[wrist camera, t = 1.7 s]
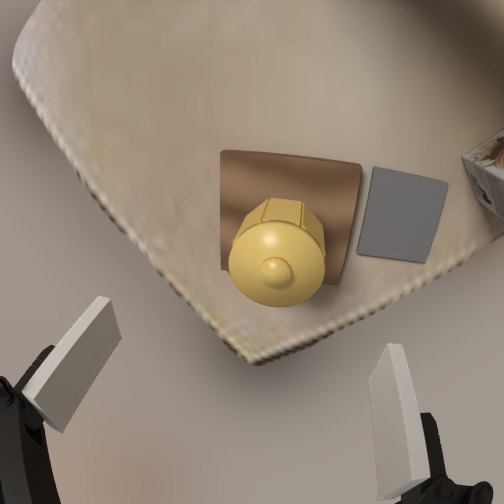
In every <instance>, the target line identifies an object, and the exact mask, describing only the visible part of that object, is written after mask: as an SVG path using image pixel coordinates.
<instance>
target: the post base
mask: <svg viewBox="0 0 504 504" xmlns="http://www.w3.org/2000/svg"><path fill="white" fill-rule="evenodd" d="M361 170H362V167H361V165H360V164H356V163H350V162H344V161H337V160H330V159H323V158H315V157H307V156H298V155H289V154H279V153H268V152H255V151H240V150H223V151H222V152H220V246H221V270H225V271H229V264H228V263H229V256H230V252H231V250H232V247H233V241H234V239H235V237H236V235H237V233H238V231H239V229H240V227H241V225H242V223H243V221H244V219H245V217H246V216H247V215H248V214H249V213H250V212H252V211H253V210H254V209H256V208H257V207H258V206H259V205H261V204H262V203H263V202H264V201H266V200H267V199H269V200H270V199H271V198H278V199H287V200H295V201H302V203H301V204H303V203H305V204H306V206H307V207H308V208H309V209H310V210H311V212H312V213H313V214H314V215H315V216H316V218H317V219H318V220H319V221H320V223H321V224H322V225H323V231H324V243H325V259H324V263H325V273H324V278H323V281H322V283H324V284H332V285H338V284H339V280H340V275H341V271H342V267H343V263H344V259H345V254H346V250H347V245H348V241H349V236H350V231H351V226H352V221H353V216H354V211H355V206H356V200H357V195H358V189H359V183H360V177H361Z"/></svg>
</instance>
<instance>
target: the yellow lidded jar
mask: <svg viewBox="0 0 504 504" xmlns="http://www.w3.org/2000/svg"><path fill="white" fill-rule="evenodd" d="M301 203H302V201H295V200H287V199H278V198H271V199H270V200H269V199H267V200H266V201H264V202H263V203H262V204H261V205H259V206H258V207H257V208H256V209H254V210H253V211H252V212H250V213H249V214H248V215H247V216H246V217H245V219H244V221H243V223H242V225H241V227H240V229H239V231H238V233H237V235H236V237H235V239H234V241H233V247H232V250H231V252H230V256H229V263H228V264H229V272H230V275H231V278H232V280H233V282H234V284H235V285H236V287H237V288H238V289H239V290H240V291H241V292H242V293H243V294H244V295H245V296H246V297H248V298H249V299H251V300H253V301H255V302H257V303H259V304H262V305H265V306H270V307H290V306H294V305H297V304H300V303H302V302H304V301H306V300H307V299H309V298H310V297H311V296H313V295H314V294H315V293H316V291H317V290H318V289H319V287H320V286H321V284H322V281H323V278H324V273H325V263H324V259H325V243H324V231H323V225H322V224H321V223H320V221H319V220H318V219H317V218H316V216H315V215H314V214H313V213H312V212H311V210H310V209H309V208H308V207H307V206H306V204H305V203H303V204H301Z"/></svg>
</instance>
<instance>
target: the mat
mask: <svg viewBox="0 0 504 504" xmlns="http://www.w3.org/2000/svg"><path fill="white" fill-rule="evenodd" d="M447 188H448V183H446V182H443V181H439V180H435V179H431V178H427V177H422V176H418V175H413V174H409V173H404V172H399V171H395V170H390V169H384V168H379V167H374V166H373V171H372V177H371V182H370V188H369V194H368V199H367V204H366V209H365V214H364V219H363V223H362V228H361V233H360V237H359V241H358V246H357V250H356V252H357V254H364V255H371V256H379V257H386V258H394V259H401V260H408V261H415V262H423V263H425V262H426V259H427V256H428V253H429V250H430V247H431V244H432V241H433V238H434V235H435V231H436V228H437V225H438V222H439V218H440V215H441V211H442V207H443V204H444V200H445V196H446V192H447Z"/></svg>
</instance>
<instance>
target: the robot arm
mask: <svg viewBox="0 0 504 504" xmlns="http://www.w3.org/2000/svg"><path fill="white" fill-rule="evenodd" d="M121 339H122V338H121V334H120V331H119V327H118V324H117V321H116V317H115V313H114V310H113V306H112V302H111V299H109V298H105V297H101V296H98V297H97V298H96V300H95V301H94V302H93V303H92V304H91V305H90V306H89V308H88V309H87V310H86V311H85V312H84V313H83V314H82V316H81V317H80V318H79V319H78V320H77V321H76V322H75V324H74V325H73V326H72V327H71V328H70V330H69V331H68V332H67V333H66V334H65V336H64V337H63V338H62V339H61V341H60V342H59V343H58V344H57V346H56V347H55V346H53V345H50V346H49V347H47V348H46V349H44V350H43V351H42V352H41V353H40V355H39V356H38V357H37V359H36V360H35V361H34V362H33V363H32V366H30V367H29V369H28V370H27V371H26V372H25V374H24V375H23V376H22V378H21V379H20V380H19V382H18V383H17V384H16V385H15V387H14V388H13V387H12V386H11V385H10V383H9V382H8V381H7V379H6V378H5V377H3V376H0V504H61V502H60V499H59V495H58V492H57V488H56V484H55V480H54V477H53V472H52V468H51V463H50V459H49V454H48V448H47V442H46V436H45V429H44V426H43V424H42V423H43V421H44V420H45V421H46V422H47V424H48V425H49V426H51V427H52V428H54V429H55V430H57V431H59V432H60V433H63V431H64V430H65V428H66V426H67V424H68V423H69V421H70V419H71V418H72V416H73V414H74V413H75V411H76V409H77V407H78V406H79V404H80V403H81V401H82V399H83V398H84V396H85V395H86V393H87V391H88V390H89V388H90V387H91V385H92V383H93V382H94V380H95V379H96V377H97V375H98V374H99V372H100V371H101V369H102V368H103V366H104V365H105V363H106V362H107V360H108V359H109V357H110V355H111V354H112V352H113V351H114V349H115V348H116V346H117V345H118V343H119V342H120V340H121ZM368 386H369V394H370V402H371V410H372V421H373V431H374V444H375V458H376V479H377V501H380V500H389V499H394V498H396V497H398V496H400V495H401V501H399V502H397V503H395V504H491V503H492V499H493V488H492V486H491V485H490V484H489V483H488V482H486V481H484V482H479V483H478V484H476V485H474V486H465V485H457V484H455V483H454V482H453V481H452V480H451V479H449V478H448V477H447V475H446V471H445V464H444V458H443V453H442V448H441V444H440V437H439V435H438V428H437V424H436V421H435V420H434V418H433V416H432V415H431V413H419V408H418V403H417V399H416V395H415V391H414V386H413V382H412V379H411V375H410V371H409V367H408V364H407V360H406V356H405V353H404V350H403V346H402V344H392V343H387V345H386V347H385V349H384V351H383V353H382V355H381V357H380V359H379V361H378V362H377V364H376V366H375V368H374V370H373V372H372V374H371V375H370V377H369V379H368Z"/></svg>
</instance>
